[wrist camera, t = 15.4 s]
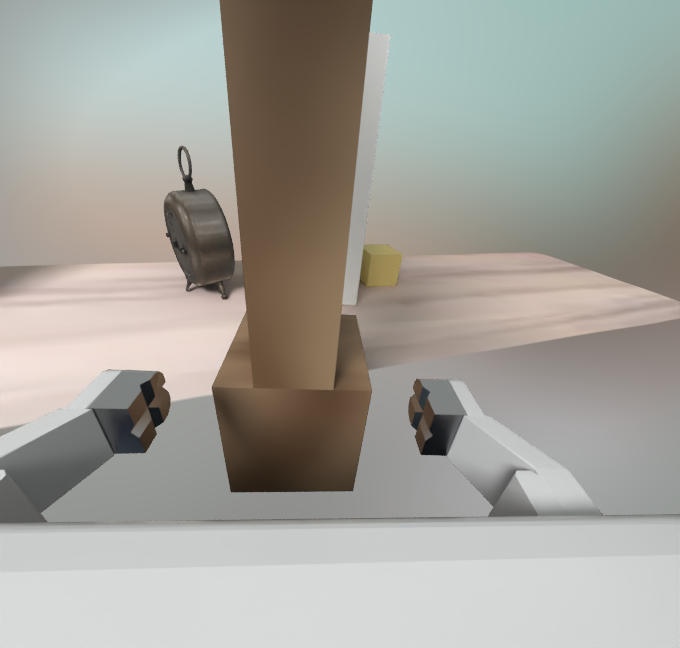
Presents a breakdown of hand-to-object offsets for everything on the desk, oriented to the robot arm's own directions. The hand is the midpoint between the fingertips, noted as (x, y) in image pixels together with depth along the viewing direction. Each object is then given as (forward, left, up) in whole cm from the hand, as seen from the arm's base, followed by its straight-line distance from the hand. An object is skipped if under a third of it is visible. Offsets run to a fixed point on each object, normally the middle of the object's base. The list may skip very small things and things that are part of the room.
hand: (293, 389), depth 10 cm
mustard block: (+10, +36, -10) cm, 39 cm away
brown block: (0, +2, +1) cm, 2 cm away
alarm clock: (-14, +29, -10) cm, 34 cm away
